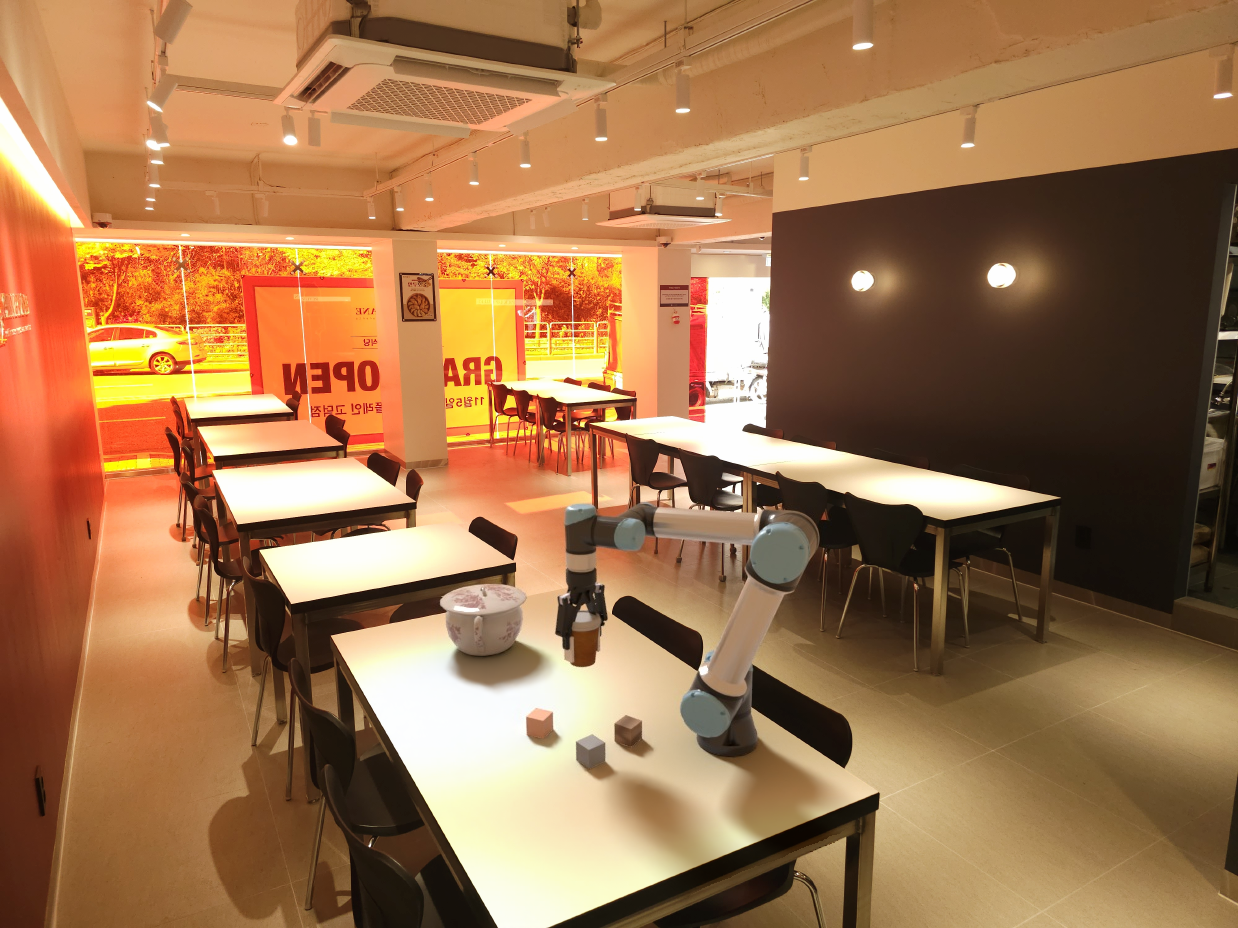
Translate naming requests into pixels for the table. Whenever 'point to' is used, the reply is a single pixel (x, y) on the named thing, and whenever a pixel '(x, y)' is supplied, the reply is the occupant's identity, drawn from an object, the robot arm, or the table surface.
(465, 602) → the chamber pot
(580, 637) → the disposable coffee cup
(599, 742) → the slate grey cube
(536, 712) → the terracotta cube
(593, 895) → the table surface
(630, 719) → the walnut cube
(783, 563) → the robot arm
